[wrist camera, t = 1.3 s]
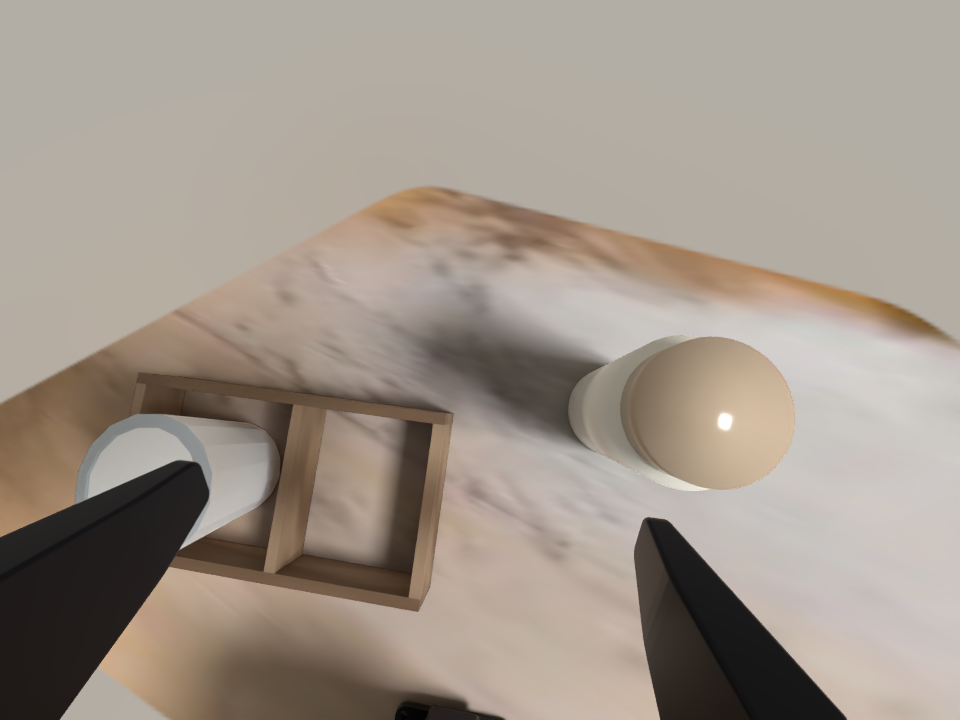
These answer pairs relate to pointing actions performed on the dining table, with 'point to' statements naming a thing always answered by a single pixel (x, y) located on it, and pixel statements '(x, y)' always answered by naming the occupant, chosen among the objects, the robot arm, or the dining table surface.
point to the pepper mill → (687, 413)
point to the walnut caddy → (309, 500)
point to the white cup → (212, 443)
